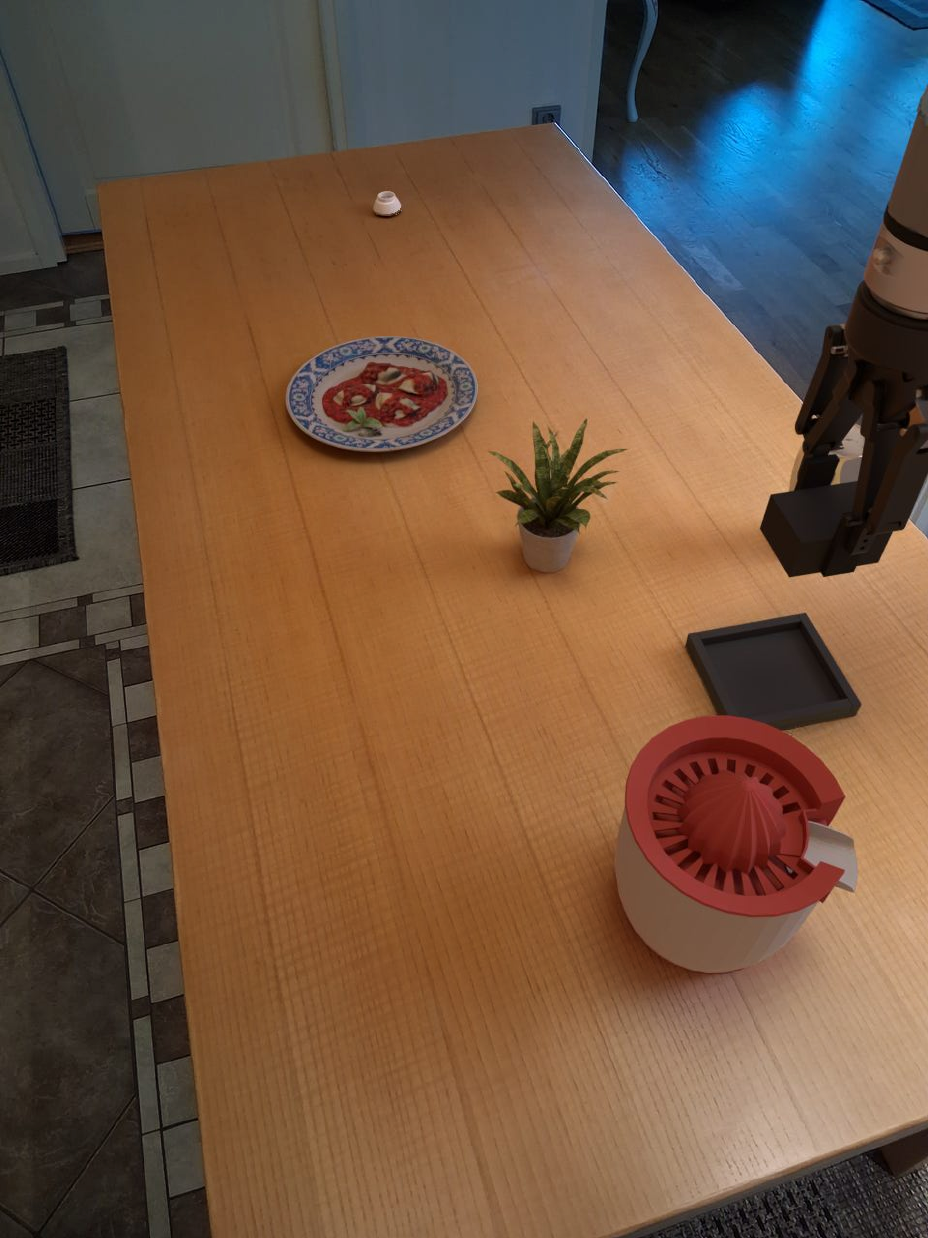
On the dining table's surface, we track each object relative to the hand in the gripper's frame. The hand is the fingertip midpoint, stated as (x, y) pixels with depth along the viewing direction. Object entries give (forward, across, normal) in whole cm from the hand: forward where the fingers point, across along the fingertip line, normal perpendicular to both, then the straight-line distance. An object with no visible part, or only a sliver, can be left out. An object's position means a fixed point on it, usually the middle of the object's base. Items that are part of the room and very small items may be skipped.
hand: (818, 543), depth 76 cm
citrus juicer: (+19, +21, -15) cm, 32 cm away
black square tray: (+19, 0, 0) cm, 19 cm away
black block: (0, 0, 0) cm, 0 cm away
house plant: (+19, -21, -16) cm, 32 cm away
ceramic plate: (+19, -54, -31) cm, 66 cm away
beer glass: (+19, -17, +12) cm, 28 cm away
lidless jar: (+19, -110, -22) cm, 113 cm away
